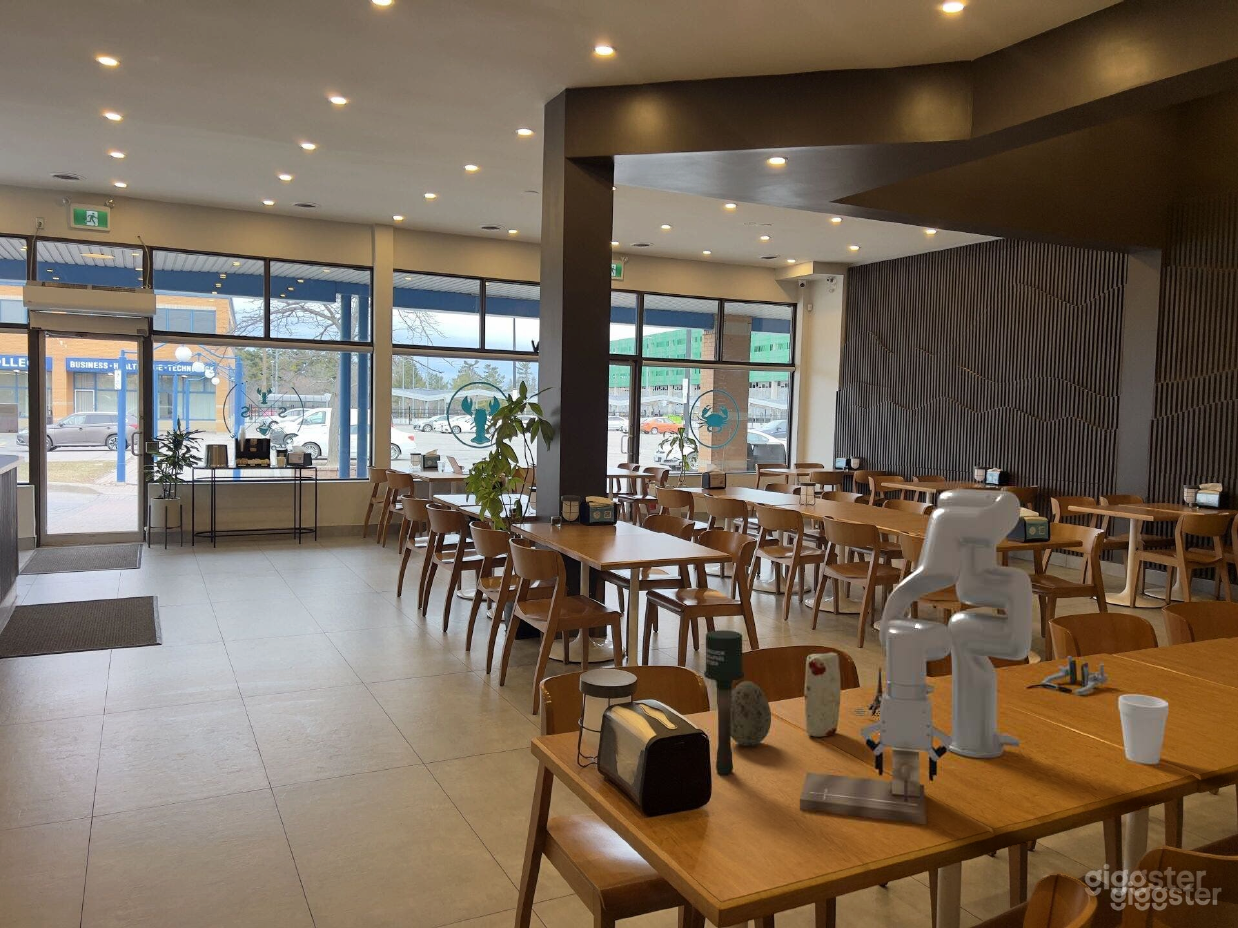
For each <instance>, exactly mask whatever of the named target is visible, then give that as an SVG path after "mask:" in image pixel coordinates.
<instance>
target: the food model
mask: <svg viewBox="0 0 1238 928" xmlns="http://www.w3.org/2000/svg"><path fill="white" fill-rule="evenodd" d="M805 661H806V662H805V663H806V664H805V679H804V691H803V692H804V693H803V694H804V713H805V716H804V717H805V728H806V734H807V735H808V736H813V737H815V738H817V737H826V736H827V737H828V736H832V735H835V734H836V732H837V730H838V725H839V724H838V723H839V716H840V707H841V706H840V705H841V671H840V670H841V669H840V667H841V666H840V658H839V655H838V654H837V653H836V652H826V653H811V654H808V655H807V657H806V660H805Z"/></svg>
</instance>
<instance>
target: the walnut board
mask: <svg viewBox="0 0 1238 928" xmlns="http://www.w3.org/2000/svg"><path fill="white" fill-rule="evenodd" d="M925 797H926V795H925V784H921V783H919V797H918V796H909V795H908V797H907V802H906V801H904V795H900V794H892V780H884V779H874V778H863V777H855V776H846V775H845V776H844V775H836V774H825V773H818V772H808V771H807V772H806V775H805V779H804V782H803V786H802V790H801V794H800V797H799V810H803V811H812V812H820V813H828V814H836V815H843V816H844V815H845V816H853V817H860V818H868V817H869V818H870V819H876V820H886V821H894V822H901V821H903V822H902V823H910V824H916V825H918V824H919V825H926V824H927V821H926V819H927V816H926V815H927V814H926V798H925ZM869 818H868V819H869Z"/></svg>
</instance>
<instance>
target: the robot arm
mask: <svg viewBox="0 0 1238 928" xmlns="http://www.w3.org/2000/svg"><path fill="white" fill-rule="evenodd" d="M1021 509H1022V508H1021V503H1020V499H1019V498H1018V496H1016V494H1015V493H1013V492H1011V491H1005V490H989V489H968V488H967V489H966V488H965V489H964V488H963V489H961V488H958V489H949V490H948V489H947V490H944V491H943V492H941V493H940V494H939V495H938V498H937V508H935V509H934V510H933V511H932V512H931V514H930V516H929V519H928V523H927V527H926V530H925V534H924V538H923V539H924V540H923V542H922V546H921V550H920V555H919V558H918V563H917V567H916V569H915V570H914V571H913V572H912V573H910V574H909V575H908V576H906V577H905V578H904V579H902V581H901V582H900V583H899V584H898V585H897V586H896V587H895V588H894V589H893V590H892V592H891V593H890V594H889V595H888V598H887V600H886V602H885V605H884V608H883V613H882V617H881V621H880V626H879V631H878V632H879V634H878V637H879V638H878V639H879V642H880V644H881V646H882V648H883V649H885V660H886V661H885V671H886V672H885V679H886V680H885V681H886V682H885V688H886V689H885V692H883V694H882V698H881V697H880V700H881V704H880V708H879V709H880V716H879V718H878V719H879V721H877V722H874V723H873V724H870V725H868V726H865V727H863V728H861V729H860V735H861V737H862V739H863V741H864V742H865V745H866V746H867V747H868V748H869V749H870V750H871V751H872V752H873V754H874V758H875V759H874V763H875V764H874V765H875V766H874V767H875V768H874V770H878V776H883V772H884V761H883V760H884V754H883V753H884V752H883V751H884V750H885V749H886V748H887V747H888V748H893V747H894V748H904V749H914V750H919V751H925V752H926V753H927V754H928V779H929V781H930V782H934V776H937V775H938V761H939V759H940V758H941V757H943V755H945V754H946V753H947V751H951V752H952V753H954V754H957V755H959V756H965V757H969V758H975V759H976V758H977V759H990V758H991V759H992V758H997V757H1000V756H1001V755H1003V754H1004V753H1005V751H1004V750H1005V746H1010V747H1020V738H1019V737H1013V736H1012V734H1004V733H1003V734H1002V733H1001V732H999V731H998V727H997V712H998V711H997V709H998V708H997V707H998V704H997V697H998V695H997V693H998V692H997V691H998V689H997V688H998V687H997V685H998V684H997V683H998V677H997V676H998V675H997V672H996V668H995V666H994V665H993V662H992V661H991V660H990V659H989V657H992V658H998V659H1005V660H1013V661H1021V660H1024V659H1025V658H1027V657H1028V655H1029V653H1030V651H1031V647H1032V634H1033V632H1032V630H1033V629H1032V628H1033V627H1032V626H1033V623H1032V621H1033V585H1032V581H1031V578H1030V576H1029V574H1028V573H1027V572H1026V571H1025V570H1023V569H1021V568H1018V567H1013V566H1012V567H1011V566H1002V565H998V563H997V546H998V545H999V544H1000V543H1001V542H1002V541H1003V540H1004V539H1005V538H1006V537H1007V536H1008V535H1009V534H1011V532H1012V531H1013V530H1014V529H1015V527H1016V526H1017V524H1018V522H1019V519H1020V516H1021ZM954 585H955V592H956V593H955V594H956V597H957V599H958V600H959V601H960V602H961V603H962V604H966V605H969V606H976V607H981V608H988V609H989V608H990V609H999V610H1004V612H1005V614H997V613H991V612H986V611H976V610H961V611H957V612H955V613H954V614H952V615H951V616H950V618H949V620H948V623H947V625H946V624H943V623H940V622H937V621H930V620H926V619H925V620H924V619H918V618H912V617H904V615H905V612H906V610H907V609H908V607H909V606H910V605H911V604H912V603H913V602H915V600H917V599H919V598H921V597H923V596H926V595H928V594H931V593H934V592H936V591H941V590H944V589H946V588H949V587H950V588H951V587H952V586H954ZM949 654H951V673H952V674H951V735H949V734H947V733H945V732H944V731H942V730H940V729H938V728H937V727H935V726H934V721H933V709H932V702H931V699H930V696H928V694H934V693H935V687H934V685H931V684H930V685H929V684H928V683H927V662H931V661H938V660H942V659H944V658H946V657H947V656H948V655H949ZM876 732H878V738H879V740H878V741H877V742H875V741H874V740H873V739H872V738H871V734H873V733H876ZM934 737H935V738H938V739H939V740H941V745H939V746H938V747H936V748H935V747H934V746H933V744H934Z"/></svg>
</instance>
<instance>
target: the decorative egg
mask: <svg viewBox="0 0 1238 928" xmlns="http://www.w3.org/2000/svg"><path fill="white" fill-rule="evenodd" d="M771 712H772V711H771V707H770V704H769V701H768V698H767V697H766V695H765V693H764V692H763V691H762V689H761V688H760V687H759V686H758V685H757V684H756V683H754V682H752V681H751V680H750V681H748V680H745V681H742V682H740V683H738V684H737V685H736V686H735V687H734V688H733V689H732V704H731V739H732V740H734V742H736V743H738V744H739V745H741V746H745V747H753V746H756V745H758V744H760V743H761V742H763V740H764V739H765V738H766V737H767V735H768V733H770V729H771V726H772V725H771V724H772V713H771Z"/></svg>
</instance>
